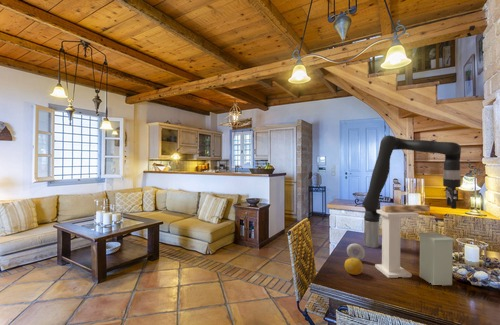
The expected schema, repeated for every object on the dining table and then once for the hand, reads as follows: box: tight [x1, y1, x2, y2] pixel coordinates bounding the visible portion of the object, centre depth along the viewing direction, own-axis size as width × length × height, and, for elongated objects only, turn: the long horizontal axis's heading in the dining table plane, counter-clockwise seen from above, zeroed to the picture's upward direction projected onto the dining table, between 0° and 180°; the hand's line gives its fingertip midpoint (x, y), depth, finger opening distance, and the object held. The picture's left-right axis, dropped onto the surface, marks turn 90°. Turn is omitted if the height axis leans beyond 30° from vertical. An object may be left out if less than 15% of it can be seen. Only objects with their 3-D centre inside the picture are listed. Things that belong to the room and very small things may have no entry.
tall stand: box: [374, 209, 420, 279], centre depth 128 cm, size 16×12×32 cm
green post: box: [417, 232, 456, 286], centre depth 119 cm, size 10×10×22 cm
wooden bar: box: [381, 204, 431, 213], centre depth 128 cm, size 24×2×3 cm, turn 93°
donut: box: [346, 242, 366, 261], centre depth 143 cm, size 10×4×10 cm, turn 62°
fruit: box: [344, 257, 364, 276], centre depth 127 cm, size 9×8×8 cm
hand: (451, 207), depth 137 cm, fingers open, 8 cm apart
